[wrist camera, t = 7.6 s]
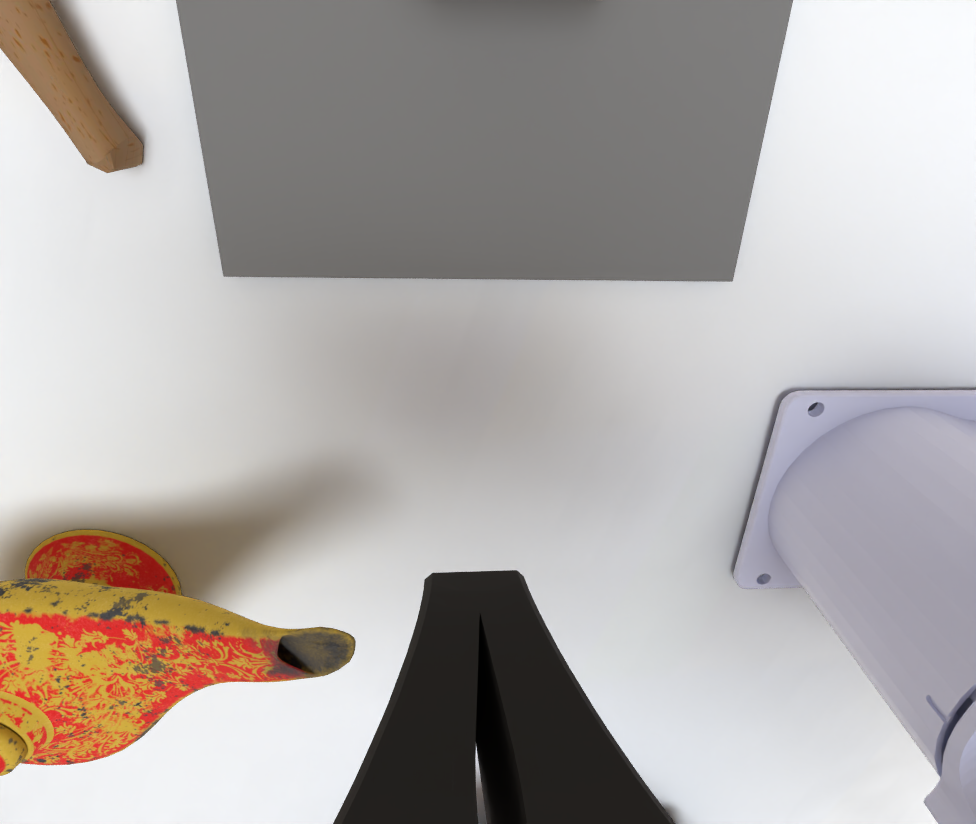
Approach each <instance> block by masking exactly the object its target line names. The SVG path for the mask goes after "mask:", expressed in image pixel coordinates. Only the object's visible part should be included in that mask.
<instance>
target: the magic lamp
mask: <svg viewBox="0 0 976 824" xmlns="http://www.w3.org/2000/svg"><path fill="white" fill-rule="evenodd" d="M354 651H355V639H354V637H353V636H351V635H350V634H348V633H346V632H343V631H340V630H337V629H333V628H326V627H315V628H305V629H283V628H276V627H271V626H267V625H263V624H260V623H258V622H255V621H252V620H250V619H247V618H245V617H242V616H240V615H238V614H235V613H233V612H230V611H228V610H225V609H223V608H220V607H218V606H215V605H212V604H210V603H206V602H203V601H200V600H197V599H193V598H189V597H185V596H182V594H181V588H180V583H179V581H178V579H177V577H176V574H175V573H174V571H173V570H172V569H171V567H170V566H169V564H168V563H167V562H166V561H165V560H164V559H163V558H162V557H161V556H159V555H158V554H157V553H156V552H154V551H153V550H152V549H150V548H149V547H147V546H146V545H144V544H142V543H140V542H138V541H136V540H134V539H132V538H129V537H126V536H123V535H120V534H117V533H112V532H107V531H101V530H75V531H67V532H64V533H61V534H57V535H54V536H52V537H50V538H49V539H47V540H45V541H43V542H42V543H41V544H40V545H39V546H37V547H36V548H35V549H34V550H33V552H32V553H31V555H30V557H29V558H28V560H27V564H26V567H25V579H19V580H10V581H1V582H0V776H2V775H6V774H8V773H10V772H11V771H12V770H13V769H14V768H15V767H16V766H17V765H18V764H19V763H23V764H37V765H69V764H76V763H83V762H89V761H93V760H97V759H101V758H104V757H108V756H110V755H112V754H115V753H117V752H119V751H121V750H124V749H125V748H127V747H128V746H130V745H131V744H133V743H134V742H136V741H137V740H138V739H140V738H141V737H142V736H144V735H145V734H146V733H147V732H148V731H149V730H150V729H151V728H152V727H153V726H154V725H155V724H156V723H157V722H158V721H159V720H160V719H161V718H162V717H163V716H164V715H165V714H166V713H167V712H168V711H169V710H170V709H171V708H172V707H173V706H174V705H176V704H177V703H178V702H179V701H181V700H182V699H183V698H185V697H187V696H188V695H190V694H192V693H194V692H195V691H198V690H200V689H203V688H205V687H207V686H211V685H214V684H218V683H225V682H278V681H289V680H296V679H304V678H313V677H320V676H325V675H328V674H330V673H332V672H335V671H337V670H339V669H340V668H341V667H343V666H344V665H346V664H347V663H348V662H350V660H351V658H352V656H353V654H354Z"/></svg>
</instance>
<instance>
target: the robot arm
mask: <svg viewBox="0 0 976 824" xmlns="http://www.w3.org/2000/svg"><path fill="white" fill-rule="evenodd" d="M816 402H818V404H817V406H816V407H815V408H814V409H813V410H811V411H808V409H809V407H810V406H811V405H812V404H813V403H816ZM761 574H764V575H762V576H760V575H761ZM758 576H760V577H758ZM733 578H734V579H735V581H736V583H737V584H738V586H739V587H741V588H745V589H758V588H795V587H803V588H804V590H805V591H806V593H807V594H808V595H809V597H810V598H811V599H812V601H813V602H814V604H815V605H816V606H817V608H818V609H819V610H820V612H821V613H822V615H823V616H824V617H825V619H826V620H827V622H828V623H829V624H830V626H831V627H832V628H833V630H834V631H835V633H836V634H837V635H838V637H839V638H840V639H841V641H842V642H843V644H844V645H845V646H846V648H847V649H848V651H849V652H850V653H851V655H852V656H853V657H854V659H855V660H856V662H857V663H858V664H859V666H860V667H861V668H862V670H863V671H864V673H865V674H866V675H867V677H868V678H869V680H870V681H871V682H872V684H873V685H874V686H875V688H876V689H877V691H878V692H879V693H880V695H881V696H882V697H883V699H884V700H885V702H886V703H887V704H888V706H889V707H890V709H891V710H892V711H893V713H894V714H895V715H896V717H897V718H898V720H899V721H900V722H901V724H902V725H903V726H904V728H905V729H906V731H907V732H908V733H909V735H910V736H911V738H912V739H913V740H914V742H915V743H916V744H917V746H918V747H919V749H920V750H921V751H922V753H923V754H924V755H925V757H926V758H927V760H928V761H929V762H930V764H931V765H932V766H933V768H934V769H935V771H936V772H937V773H938V775H939V776H940V780H939V782H938V784H937V785H936V786H935V788H934V789H933V790H932V791H931V792H930V793H929V794H928V795H927V797H926V798H925V799H924V803H925V805H926V806H927V808H928V809H929V811H930V812H931V814H932V815H933V817H934V818H935V820H936V821H937V823H938V824H976V390H806V391H794V392H792V393H790V394H788V395H787V396H786V397H785V398H784V399H783V400H782V402H781V404H780V407H779V410H778V414H777V418H776V421H775V425H774V428H773V432H772V436H771V439H770V443H769V446H768V450H767V454H766V457H765V461H764V464H763V468H762V472H761V475H760V479H759V482H758V486H757V490H756V493H755V497H754V500H753V504H752V508H751V511H750V515H749V518H748V522H747V526H746V529H745V533H744V536H743V540H742V544H741V547H740V551H739V554H738V558H737V562H736V565H735V569H734V572H733ZM476 746H477V754H478V761H479V768H480V775H481V782H482V790H483V797H484V804H485V811H486V818H487V824H675V822H674V821H673V820H672V818H671V817H670V816H669V815H668V813H667V812H666V811H665V809H664V808H663V807H662V805H661V804H660V803H659V801H658V800H657V799H656V797H655V796H654V795H653V793H652V792H651V791H650V789H649V788H648V786H647V785H646V784H645V782H644V781H643V779H642V778H641V777H640V775H639V774H638V773H637V771H636V770H635V768H634V767H633V765H632V764H631V763H630V761H629V760H628V758H627V757H626V755H625V754H624V752H623V751H622V749H621V748H620V747H619V745H618V744H617V742H616V741H615V739H614V738H613V736H612V735H611V733H610V732H609V730H608V729H607V727H606V726H605V724H604V723H603V721H602V720H601V718H600V717H599V715H598V713H597V712H596V710H595V709H594V707H593V706H592V704H591V702H590V701H589V699H588V697H587V696H586V694H585V693H584V691H583V689H582V688H581V686H580V684H579V683H578V681H577V679H576V678H575V676H574V674H573V673H572V671H571V670H570V668H569V666H568V665H567V663H566V661H565V659H564V658H563V656H562V654H561V652H560V651H559V649H558V647H557V645H556V643H555V641H554V640H553V638H552V636H551V634H550V632H549V630H548V628H547V626H546V625H545V623H544V621H543V619H542V617H541V615H540V613H539V611H538V609H537V606H536V604H535V602H534V600H533V598H532V596H531V593H530V591H529V589H528V586H527V584H526V581H525V579H524V576H522V575H521V574H520V573H519V572H518V571H517V570H512V571H481V572H449V573H432V574H431V575H430V576H428V577H427V578H426V579H425V582H424V591H423V597H422V602H421V606H420V611H419V615H418V619H417V622H416V626H415V629H414V633H413V636H412V639H411V642H410V645H409V648H408V652H407V655H406V657H405V660H404V663H403V666H402V668H401V671H400V674H399V676H398V679H397V682H396V684H395V687H394V690H393V692H392V695H391V698H390V700H389V703H388V705H387V708H386V710H385V713H384V715H383V718H382V720H381V722H380V724H379V727H378V729H377V731H376V733H375V736H374V738H373V740H372V742H371V745H370V747H369V749H368V751H367V754H366V756H365V758H364V761H363V763H362V765H361V767H360V770H359V772H358V774H357V776H356V778H355V780H354V782H353V785H352V787H351V789H350V791H349V793H348V795H347V797H346V799H345V801H344V803H343V805H342V807H341V809H340V811H339V813H338V815H337V817H336V819H335V821H334V823H333V824H478V816H477V802H476V773H475V751H476Z"/></svg>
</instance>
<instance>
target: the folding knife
mask: <svg viewBox="0 0 976 824" xmlns="http://www.w3.org/2000/svg"><path fill="white" fill-rule="evenodd" d="M0 48H1V50H2V51H3V52H4V53H5V55H6V56H7V57H8V58H9V60H10V61H11V62H12V63H13V65H14V66H15V67H16V68H17V69H18V71H19V72H20V73H21V74H22V76H23V77H24V78H25V79H26V81H27V82H28V83H29V84H30V86H31V87H32V88H33V90H34V91H35V92H36V93H37V95H38V96H39V97H40V99H41V100H42V101H43V102H44V104H45V105H46V106H47V107H48V109H49V110H50V111H51V113H52V114H53V115H54V117H55V118H56V119H57V121H58V122H59V124H60V125H61V126H62V128H63V129H64V130H65V132H66V133H67V135H68V136H69V138H70V139H71V141H72V142H73V143H74V145H75V146H76V148H77V149H78V151H79V152H80V153H81V155H82V156H83V157H84V159H85V160H86V162H87V164H89V165H91V166H93V167H95V168H97V169H100V170H102V171H104V172H106V173H110V172H114V171H119V170H123V169H127V168H131V167H136V166H138V165H140V164H142V158H143V145H142V143H141V141H140V140H139V139H138V138H137V137H136V135H135V134H134V133H133V132H132V131H131V130H130V128H129V127H128V126H127V125H126V124H125V122H124V121H123V120H122V119H121V118H120V117H119V115H118V114H117V113H116V112H115V110H114V109H113V108H112V106H111V105H110V104H109V103H108V101H107V100H106V98H105V97H104V95H103V94H102V92H101V91H100V89H99V88H98V86H97V85H96V83H95V81H94V80H93V78H92V76H91V75H90V73H89V71H88V70H87V68H86V66H85V65H84V63H83V61H82V59H81V58H80V56H79V54H78V52H77V50H76V49H75V47H74V45H73V43H72V41H71V39H70V37H69V36H68V34H67V32H66V30H65V28H64V26H63V25H62V23H61V21H60V19H59V17H58V15H57V14H56V12H55V10H54V8H53V6H52V4H51V3H50V1H49V0H0Z"/></svg>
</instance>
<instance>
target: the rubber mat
mask: <svg viewBox="0 0 976 824" xmlns="http://www.w3.org/2000/svg"><path fill="white" fill-rule="evenodd" d="M176 3H177V9H178V15H179V20H180V26H181V32H182V38H183V44H184V49H185V55H186V61H187V67H188V73H189V78H190V84H191V90H192V96H193V101H194V107H195V113H196V119H197V125H198V130H199V136H200V142H201V148H202V154H203V159H204V165H205V171H206V177H207V183H208V188H209V194H210V200H211V206H212V212H213V217H214V223H215V229H216V235H217V241H218V246H219V252H220V258H221V264H222V270H223V275H224V276H226V277H327V278H428V279H530V280H631V281H733V277H734V272H735V267H736V263H737V258H738V254H739V249H740V244H741V240H742V235H743V230H744V226H745V221H746V216H747V212H748V207H749V202H750V198H751V193H752V188H753V184H754V179H755V175H756V170H757V165H758V161H759V156H760V151H761V147H762V142H763V137H764V133H765V128H766V123H767V119H768V114H769V109H770V105H771V100H772V96H773V91H774V86H775V82H776V77H777V72H778V68H779V63H780V58H781V54H782V49H783V44H784V40H785V35H786V30H787V26H788V21H789V17H790V12H791V7H792V3H793V0H176Z"/></svg>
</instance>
